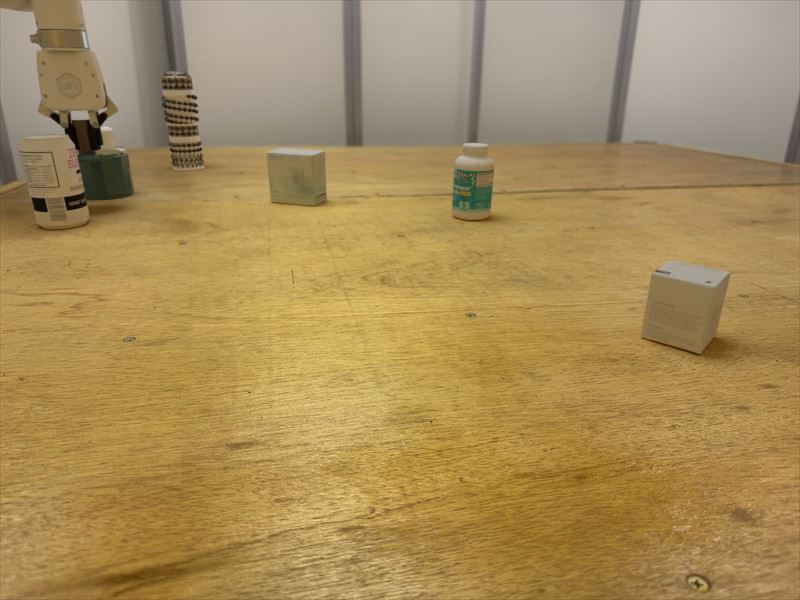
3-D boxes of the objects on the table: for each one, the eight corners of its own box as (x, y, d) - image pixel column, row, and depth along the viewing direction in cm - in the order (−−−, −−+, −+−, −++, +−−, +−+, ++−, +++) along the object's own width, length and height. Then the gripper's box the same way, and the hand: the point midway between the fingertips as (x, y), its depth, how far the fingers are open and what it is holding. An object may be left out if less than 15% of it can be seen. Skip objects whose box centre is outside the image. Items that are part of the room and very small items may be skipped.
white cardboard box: (716, 336, 59) (733, 271, 56) (699, 356, 55) (717, 286, 52) (657, 320, 62) (670, 258, 60) (637, 337, 58) (651, 271, 55)
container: (81, 184, 130) (69, 127, 125) (105, 179, 137) (94, 124, 132) (109, 186, 128) (98, 128, 123) (132, 180, 135) (122, 125, 130)
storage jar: (75, 200, 115) (66, 158, 111) (87, 190, 124) (79, 152, 121) (129, 198, 117) (122, 157, 114) (137, 188, 126) (131, 151, 123)
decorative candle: (198, 164, 160) (186, 71, 150) (211, 168, 153) (199, 71, 144) (166, 167, 154) (151, 71, 145) (178, 171, 148) (164, 71, 138)
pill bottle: (444, 214, 108) (447, 142, 102) (475, 210, 111) (480, 141, 106) (465, 223, 101) (470, 147, 96) (498, 219, 105) (504, 145, 99)
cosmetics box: (269, 202, 115) (265, 151, 111) (284, 196, 121) (281, 147, 117) (314, 206, 112) (311, 154, 108) (328, 200, 118) (326, 150, 114)
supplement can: (31, 223, 97) (9, 135, 92) (82, 216, 103) (64, 132, 97) (44, 232, 92) (21, 140, 86) (97, 224, 97) (79, 136, 92)
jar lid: (45, 164, 98) (35, 122, 95) (64, 155, 108) (55, 117, 106) (115, 162, 101) (107, 121, 98) (126, 154, 111) (120, 116, 108)
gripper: (3, 40, 92) (31, 153, 99) (111, 42, 96) (130, 151, 103) (20, 42, 98) (44, 148, 105) (119, 44, 102) (137, 146, 109)
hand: (86, 148), depth 104 cm, fingers closed on jar lid, 3 cm apart
